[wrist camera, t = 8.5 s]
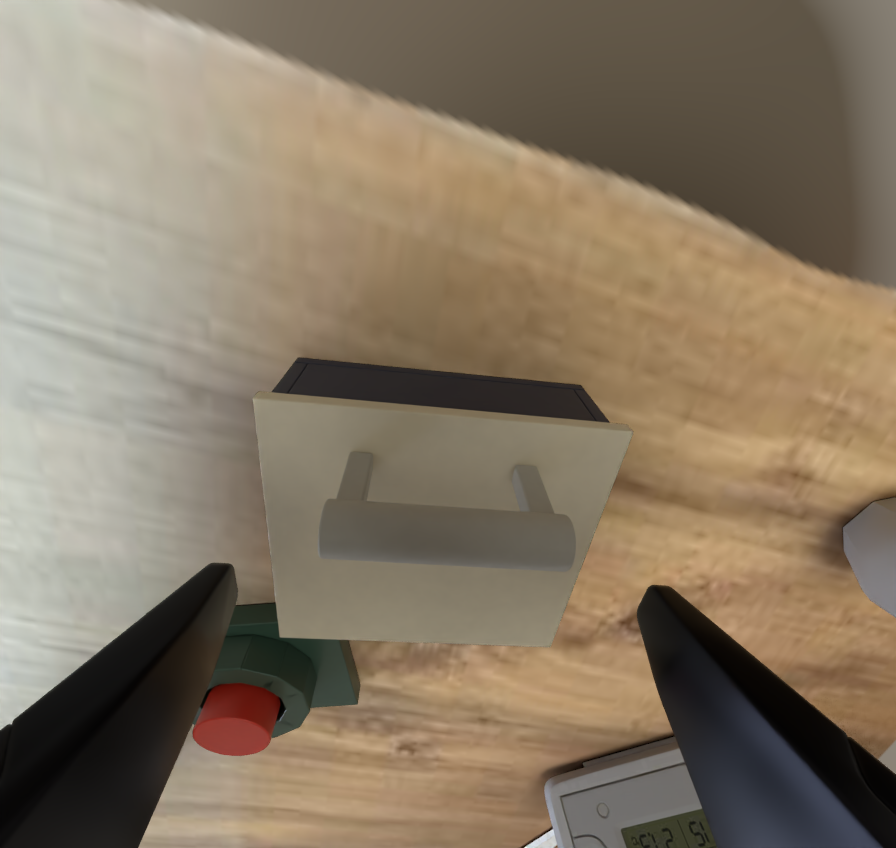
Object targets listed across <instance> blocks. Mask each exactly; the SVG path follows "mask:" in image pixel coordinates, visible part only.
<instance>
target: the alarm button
mask: <svg viewBox="0 0 896 848" xmlns="http://www.w3.org/2000/svg"><path fill="white" fill-rule="evenodd" d="M279 709H280V698H279V697H278V696H276V695H275V694H273V693H272V692H270V691H268V690H267V689H265V688H262V687H258V686H253V685H249V684H244V683H231V684H219V685H217V686H215V687H214V688H213V689H212V690H211V691H210V692H209V694H208V697H207V699H206V701H205V704H204V706H203V708H202V710H201V713H200V715H199V717H198V720H197V722H196V724H195V727H194V729H193V738H194V740H195V741H196V742H197V743H198V744H199V745H200V746H202V747H203V748H205V749H207V750H209V751H212V752H215V753H218V754H223V755H232V756H242V755H250V754H254V753H257V752H260V751H262V750H263V749H265V748H266V747H267V746H268V744H269V743H270V740H271V737H272V733H273V730H274V726H275V723H276V719H277V716H278V712H279Z"/></svg>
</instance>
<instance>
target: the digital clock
mask: <svg viewBox="0 0 896 848" xmlns="http://www.w3.org/2000/svg"><path fill="white" fill-rule="evenodd" d="M583 765H584V768H581V769H577V770H574V771H570V772H567V773H563V774H560V775H557V776H554V777H552V778H550V779H549V780H548V781H547V782H546V784H545V788H544V790H545V799H546V803H547V807H548V811H549V815H550V819H551V823H552V827H553V830H554V834H555V838H556V842H557V846H558V848H717V846H716V843H715V841H714V838H713V835H712V833H711V830H710V827H709V825H708V822H707V820H706V817H705V814H704V812H703V809H702V806H701V804H700V801H699V799H698V796H697V793H696V791H695V788H694V785H693V783H692V780H691V778H690V775H689V772H688V770H687V767H686V764H685V762H684V759H683V757H682V754H681V751H680V749H679V746H678V743H677V741H676V738H675V737H671V738H668V739H664V740H661V741H657V742H654V743H650V744H647V745H643V746H640V747H636V748H633V749H629V750H626V751H622V752H619V753H615V754H612V755H608V756H605V757H601V758H598V759H594V760H591V761H587V762H584V763H583Z"/></svg>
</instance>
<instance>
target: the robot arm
mask: <svg viewBox="0 0 896 848" xmlns="http://www.w3.org/2000/svg"><path fill="white" fill-rule="evenodd" d="M237 597H238V588H237V583H236V577H235V571H234V567H233V565H232V564H229V563H211V564H209V565H207V566H206V567H205V568H203V569H202V570H201V571H200V572H198V573H197V574H196V575H195V576H193V577H192V578H191V579H190V580H188V581H187V582H186V583H185V584H183V585H182V586H181V587H180V588H178V589H177V590H176V591H175V592H173V593H172V594H171V595H170V596H168V597H167V598H166V599H165V600H163V601H162V602H161V603H160V604H158V605H157V606H156V607H155V608H153V609H152V610H151V611H150V612H148V613H147V614H146V615H144V616H143V617H142V618H141V619H139V620H138V621H137V622H136V623H134V624H133V625H132V626H131V627H129V628H128V629H127V630H126V631H124V632H123V633H122V634H121V635H119V636H118V637H117V638H116V639H114V640H113V641H112V642H111V643H109V644H108V645H107V646H106V647H104V648H103V649H102V650H101V651H99V652H98V653H97V654H96V655H94V656H93V657H92V658H91V659H89V660H88V661H87V662H86V663H84V664H83V665H82V666H81V667H79V668H78V669H77V670H76V671H74V672H73V673H72V674H71V675H69V676H68V677H67V678H66V679H64V680H63V681H62V682H61V683H59V684H58V685H57V686H56V687H54V688H53V689H52V690H51V691H49V692H48V693H47V694H45V695H44V696H43V697H42V698H40V699H39V700H38V701H37V702H35V703H34V704H33V705H32V706H30V707H29V708H28V709H27V710H25V711H24V712H23V713H22V714H20V715H19V716H18V717H17V718H15V719H14V721H13V723H12V725H11V724H9V725H7V726H5V727H4V728H3V729H1V730H0V848H138V847H139V844H140V842H141V840H142V837H143V835H144V833H145V831H146V828H147V826H148V824H149V822H150V819H151V817H152V815H153V812H154V810H155V808H156V806H157V803H158V801H159V799H160V796H161V794H162V792H163V790H164V787H165V785H166V783H167V780H168V778H169V776H170V774H171V771H172V769H173V767H174V764H175V762H176V760H177V758H178V755H179V753H180V751H181V748H182V746H183V744H184V742H185V739H186V737H187V735H188V732H189V730H190V728H191V726H192V723H193V721H194V719H195V716H196V714H197V712H198V710H199V707H200V705H201V703H202V700H203V698H204V696H205V694H206V691H207V689H208V686H209V684H210V681H211V679H212V676H213V673H214V670H215V667H216V664H217V661H218V658H219V655H220V652H221V649H222V646H223V643H224V639H225V636H226V633H227V630H228V627H229V624H230V621H231V618H232V614H233V611H234V608H235V605H236V602H237ZM637 619H638V623H639V627H640V630H641V634H642V637H643V641H644V645H645V648H646V652H647V655H648V659H649V663H650V666H651V670H652V673H653V677H654V680H655V684H656V687H657V690H658V693H659V696H660V698H661V701H662V704H663V707H664V709H665V712H666V714H667V717H668V720H669V722H670V725H671V728H672V730H673V733H674V736H675V738H676V741H677V743H678V746H679V749H680V751H681V754H682V757H683V759H684V762H685V764H686V767H687V770H688V772H689V775H690V778H691V780H692V783H693V785H694V788H695V791H696V793H697V796H698V799H699V801H700V804H701V806H702V809H703V812H704V814H705V817H706V820H707V822H708V825H709V827H710V830H711V833H712V835H713V838H714V841H715V843H716V846H717V848H896V774H895V773H893V772H892V771H891V770H890V769H888V768H887V767H886V766H885V765H884V764H882V763H881V762H880V761H879V760H878V759H876V758H875V757H874V756H873V755H871V754H870V753H869V752H868V751H867V750H865V749H864V748H863V747H862V746H861V745H860V744H858V743H857V742H856V741H855V740H854V739H852V738H851V737H847V735H846V733H845V732H844V731H843V730H841V729H840V728H839V727H838V726H837V725H835V724H834V723H833V722H832V721H831V720H829V719H828V718H827V717H826V716H825V715H823V714H822V713H821V712H820V711H819V710H817V709H816V708H815V707H814V706H813V705H811V704H810V703H809V702H808V701H807V700H805V699H804V698H803V697H802V696H801V695H799V694H798V693H797V692H796V691H795V690H794V689H792V688H791V687H790V686H789V685H788V684H786V683H785V682H784V681H783V680H782V679H780V678H779V677H778V676H777V675H776V674H774V673H773V672H772V671H771V670H770V669H768V668H767V667H766V666H765V665H764V664H762V663H761V662H760V661H759V660H758V659H756V658H755V657H754V656H753V655H752V654H750V653H749V652H748V651H747V650H746V649H744V648H743V647H742V646H741V645H740V644H738V643H737V642H736V641H735V640H734V639H732V638H731V637H730V636H729V635H728V634H726V633H725V632H724V631H723V630H722V629H720V628H719V627H718V626H717V625H716V624H715V623H713V622H712V621H711V620H710V619H709V618H707V617H706V616H705V615H704V614H703V613H701V612H700V611H699V610H698V609H697V608H695V607H694V606H693V605H692V604H691V603H689V602H688V601H687V600H686V599H685V598H683V597H682V596H681V595H680V594H679V593H677V592H676V591H675V590H674V589H672V588H671V587H669V586H664V585H651V586H650V587H648V589H647V591H646V593H645V595H644V597H643V599H642V601H641V603H640V604H639V606H638V610H637Z"/></svg>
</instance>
